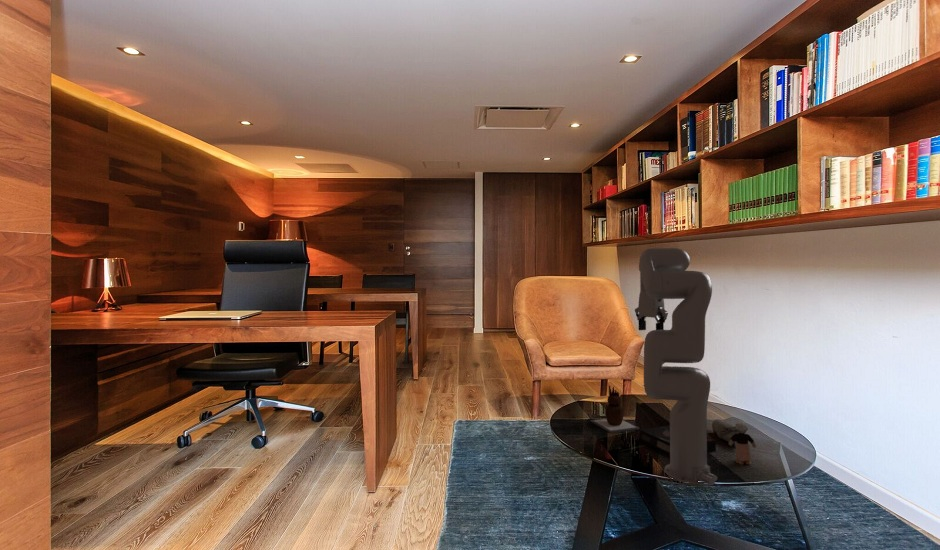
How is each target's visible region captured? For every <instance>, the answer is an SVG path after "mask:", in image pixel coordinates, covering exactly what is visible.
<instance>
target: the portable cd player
mask: <svg viewBox="0 0 940 550" xmlns="http://www.w3.org/2000/svg"><path fill="white" fill-rule="evenodd" d="M639 430H640V431H639V437H638V438H639V441H641V442H643V443H645V444H647V445H649V446H651V447H653V448H655V449H657V450H659V451H661V452H663V453H665V454H667V455H669V456H670V424H669V425H662V426H656V427H652V428H651V427H650V428H643V429H639ZM716 443H717V441H716V439H713V438H712V437H711V438H710V437H708V436H707V454H708V452H709V453H712V452H713V451H714V452H716V451H717V444H716Z"/></svg>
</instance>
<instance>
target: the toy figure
mask: <svg viewBox="0 0 940 550" xmlns="http://www.w3.org/2000/svg"><path fill="white" fill-rule="evenodd" d="M734 427H736V429H737V431H738V432H739V434H734V435H733V436H732V437H731V438H730V442H728V445H729V446H732V443H734V442H735V458H736V459H735V460H734V462H735V461H736V462H735V463H737V464H738V463H739V464H738V465H744V464H745V463H746V464H745V465H748V464H749V466H751V465H752V462H751V452H750V445H749V443H750V444H751V446H752V448H756V447H757V445H756V443H755V441H754V438H752V436H751V435H749V434H748V433H747V431H748V430H749V427H748V425H747V423H746V422H744V421H738V422H736V423H735V426H734ZM744 462H745V463H744Z"/></svg>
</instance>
